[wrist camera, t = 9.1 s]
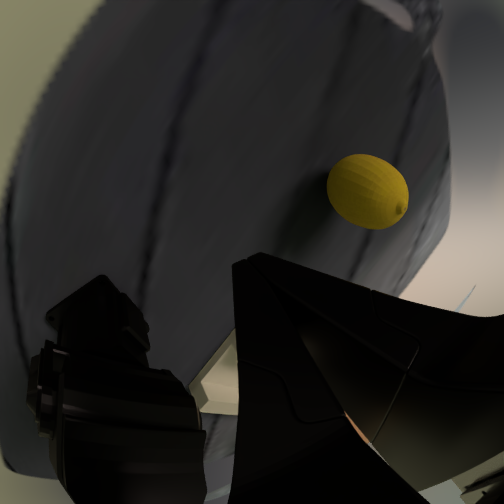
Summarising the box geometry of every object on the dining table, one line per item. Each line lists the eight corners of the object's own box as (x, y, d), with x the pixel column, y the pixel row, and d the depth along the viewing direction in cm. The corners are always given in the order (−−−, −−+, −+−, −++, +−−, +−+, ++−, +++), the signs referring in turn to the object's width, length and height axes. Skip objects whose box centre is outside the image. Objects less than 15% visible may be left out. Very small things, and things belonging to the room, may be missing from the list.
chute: (188, 386, 28) (198, 411, 26) (239, 321, 27) (256, 346, 24) (296, 399, 40) (308, 416, 37) (339, 354, 39) (354, 370, 36)
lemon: (311, 215, 25) (376, 257, 19) (304, 153, 22) (380, 179, 16) (357, 197, 27) (423, 230, 20) (355, 141, 24) (429, 163, 17)
